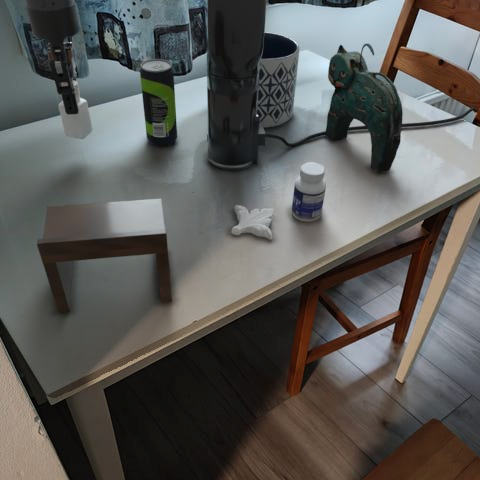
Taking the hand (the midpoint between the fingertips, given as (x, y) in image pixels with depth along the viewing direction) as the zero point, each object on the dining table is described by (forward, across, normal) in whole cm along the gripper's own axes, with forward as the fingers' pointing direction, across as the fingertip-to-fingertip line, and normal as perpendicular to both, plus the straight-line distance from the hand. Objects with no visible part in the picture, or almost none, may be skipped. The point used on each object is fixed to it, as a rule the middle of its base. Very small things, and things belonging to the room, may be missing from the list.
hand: (73, 106), depth 95 cm
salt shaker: (+6, 0, 0) cm, 6 cm away
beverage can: (+11, +5, -16) cm, 19 cm away
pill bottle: (+11, -24, -39) cm, 47 cm away
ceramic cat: (+11, -4, -54) cm, 56 cm away
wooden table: (+10, -37, -6) cm, 39 cm away
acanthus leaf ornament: (+11, -26, -29) cm, 40 cm away
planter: (+11, +15, -37) cm, 42 cm away
